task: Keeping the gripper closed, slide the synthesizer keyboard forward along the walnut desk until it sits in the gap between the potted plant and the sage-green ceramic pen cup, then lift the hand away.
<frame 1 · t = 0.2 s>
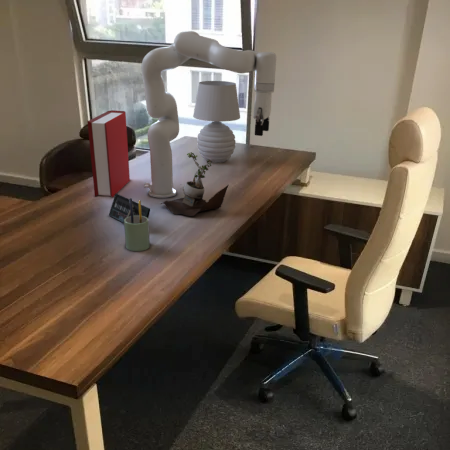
hand: (261, 133, 208), 31 cm above the table, tool pointing down, fingers open, 9 cm apart
book: (113, 188, 241), on the table
potted plant: (193, 209, 219), on the table
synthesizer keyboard: (129, 223, 202), on the table
pen cup: (137, 246, 183), on the table
table lamp: (215, 160, 289), on the table
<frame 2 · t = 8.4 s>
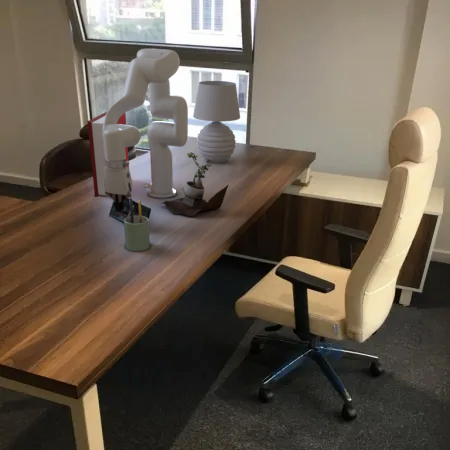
hand: (119, 210, 201), 5 cm above the table, tool pointing down, fingers closed
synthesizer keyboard: (129, 223, 202), on the table, touching gripper
everything else where it was.
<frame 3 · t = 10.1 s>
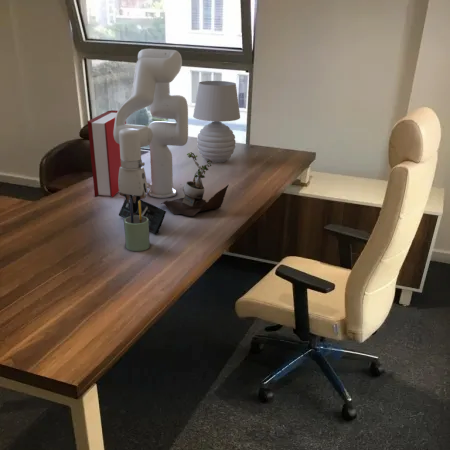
hand: (133, 211, 198), 5 cm above the table, tool pointing down, fingers closed
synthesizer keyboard: (140, 224, 200), on the table, touching gripper
everything else where it was.
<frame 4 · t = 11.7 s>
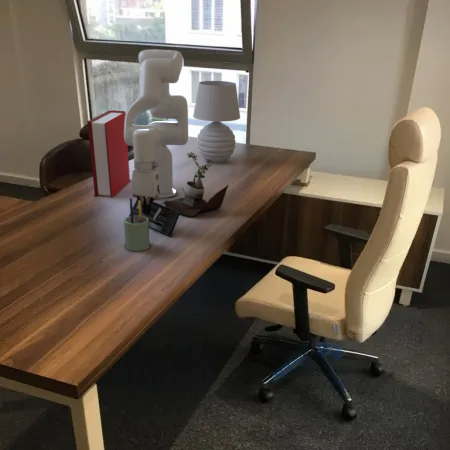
hand: (146, 213, 197), 6 cm above the table, tool pointing down, fingers closed
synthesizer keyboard: (152, 226, 199), on the table, touching gripper
everything else where it was.
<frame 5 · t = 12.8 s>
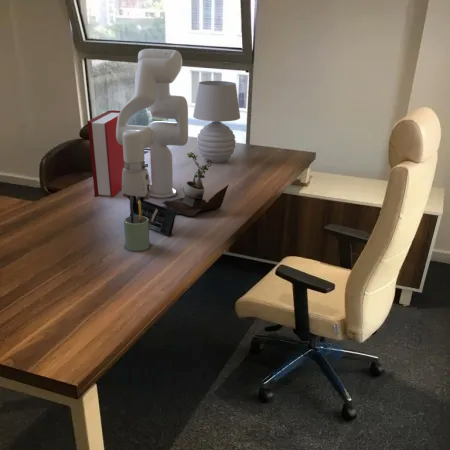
hand: (137, 212, 199), 5 cm above the table, tool pointing down, fingers closed
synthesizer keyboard: (152, 227, 200), on the table
everything else where it was.
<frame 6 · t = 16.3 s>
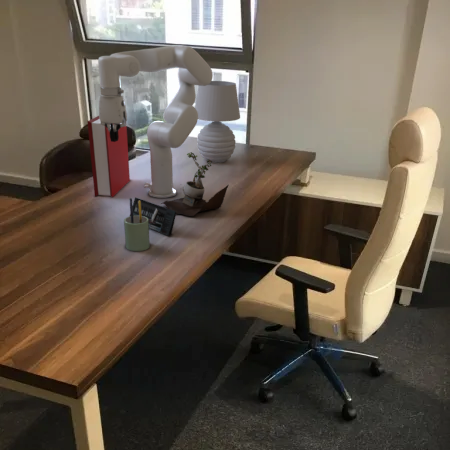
hand: (114, 141, 206), 27 cm above the table, tool pointing down, fingers closed
nothing on the table moved.
at the end: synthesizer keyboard inside the target area on the table beside the pen cup (2.8 cm from its centre), on the table; pen cup moved 0.0 cm from its start; potted plant moved 0.2 cm from its start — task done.
